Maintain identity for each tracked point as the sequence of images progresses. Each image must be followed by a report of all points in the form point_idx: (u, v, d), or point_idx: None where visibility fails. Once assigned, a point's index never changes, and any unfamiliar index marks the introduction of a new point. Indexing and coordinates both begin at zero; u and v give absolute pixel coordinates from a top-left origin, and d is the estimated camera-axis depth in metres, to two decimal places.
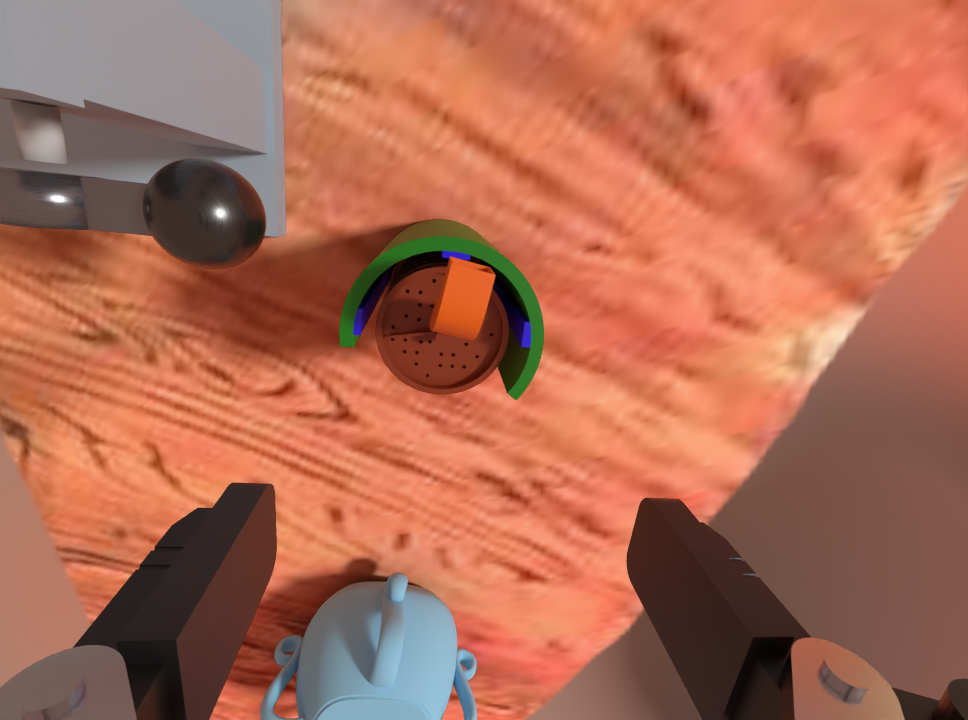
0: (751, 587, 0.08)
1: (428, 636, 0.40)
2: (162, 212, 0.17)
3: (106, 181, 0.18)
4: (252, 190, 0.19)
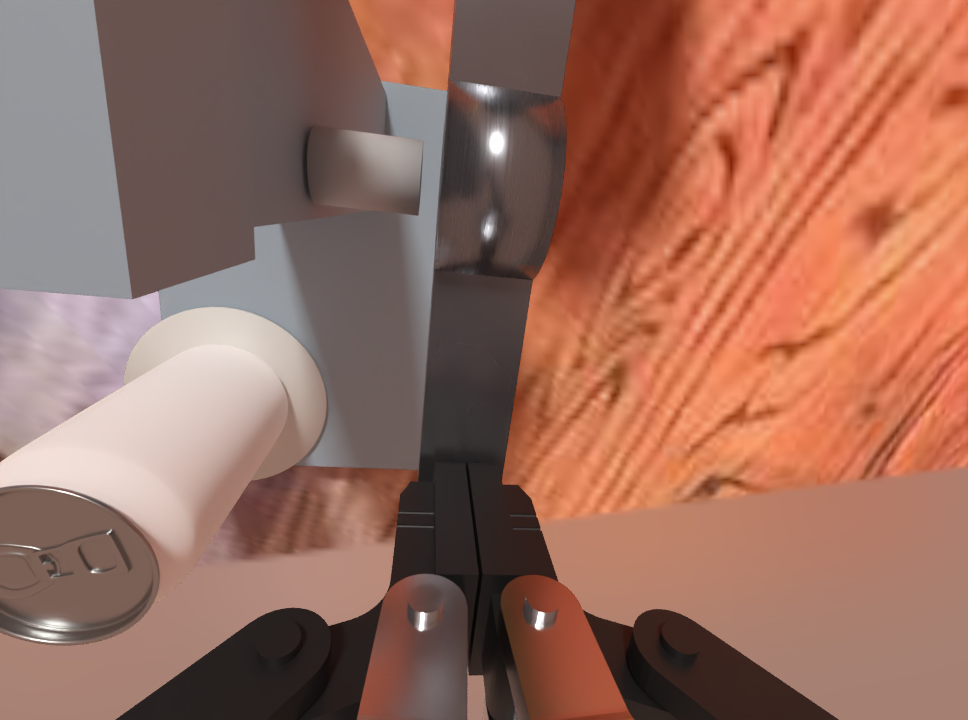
0: (512, 535, 0.08)
1: None
2: None
3: (458, 15, 0.08)
4: None
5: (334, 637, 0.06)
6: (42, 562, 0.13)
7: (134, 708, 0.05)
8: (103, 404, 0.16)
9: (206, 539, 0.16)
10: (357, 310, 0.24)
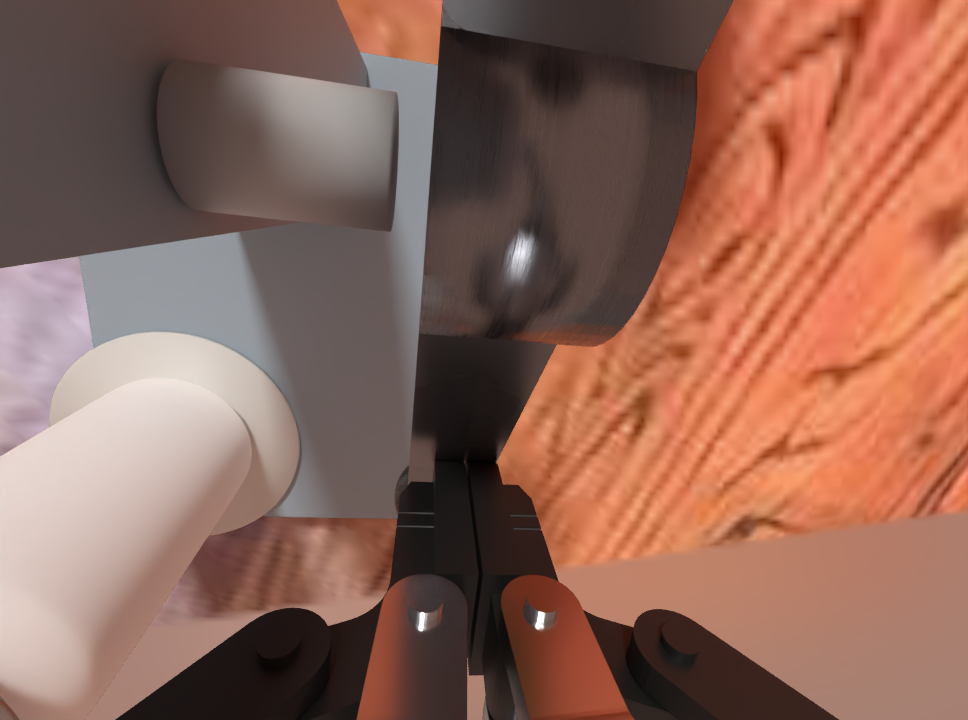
0: (512, 535, 0.08)
1: None
2: None
3: None
4: None
5: (334, 637, 0.06)
6: None
7: (134, 708, 0.05)
8: None
9: (115, 663, 0.11)
10: (335, 334, 0.20)
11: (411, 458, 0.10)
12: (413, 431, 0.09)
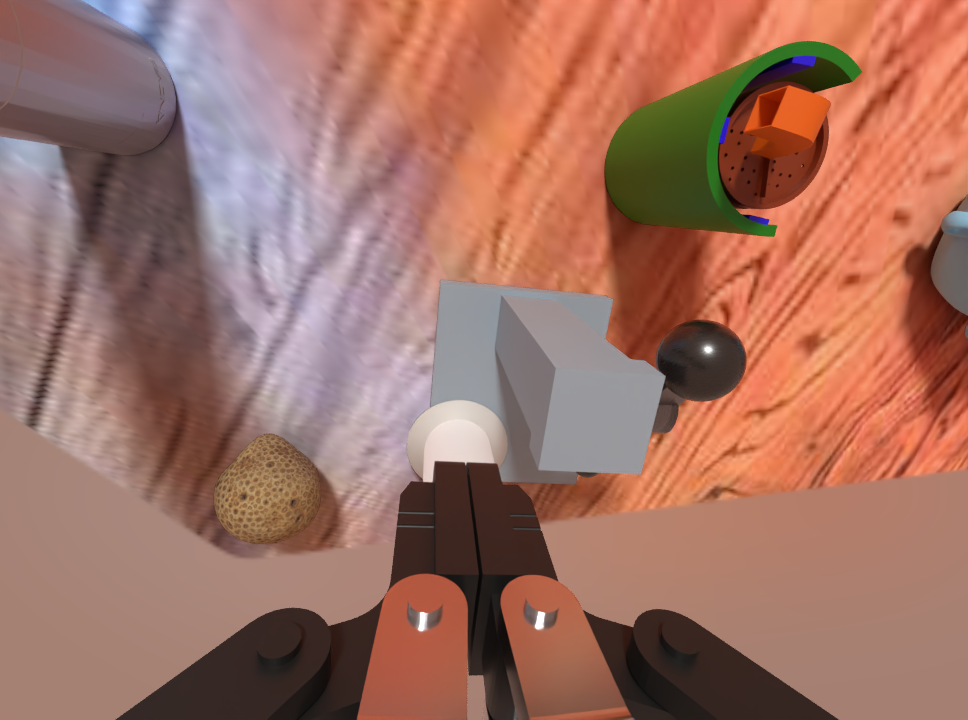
0: (512, 535, 0.08)
1: None
2: None
3: None
4: (697, 341, 0.23)
5: (334, 637, 0.06)
6: None
7: (134, 708, 0.05)
8: (453, 459, 0.37)
9: None
10: None
11: None
12: None
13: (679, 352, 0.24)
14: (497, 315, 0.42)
